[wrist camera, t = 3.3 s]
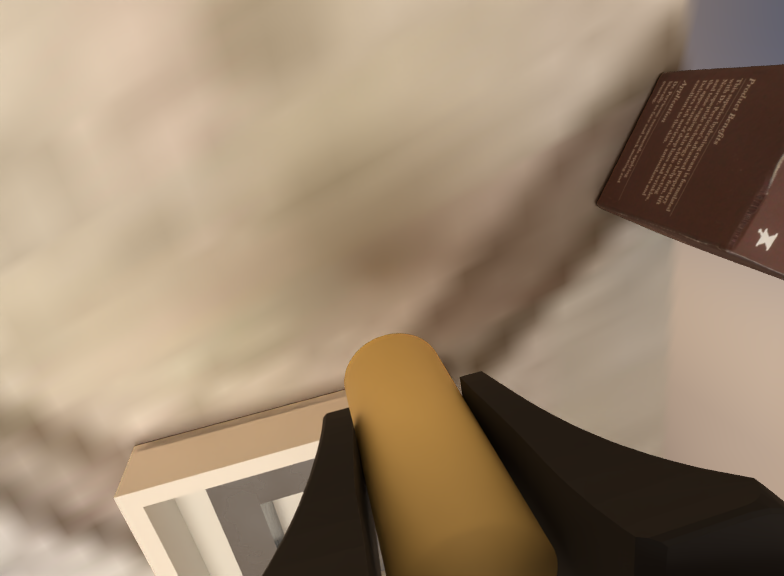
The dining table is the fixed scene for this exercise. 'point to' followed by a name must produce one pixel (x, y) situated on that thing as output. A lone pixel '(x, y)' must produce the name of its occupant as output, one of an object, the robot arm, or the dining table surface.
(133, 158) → the dining table surface
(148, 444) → the tray
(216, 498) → the socket plate
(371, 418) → the peg
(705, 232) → the box
